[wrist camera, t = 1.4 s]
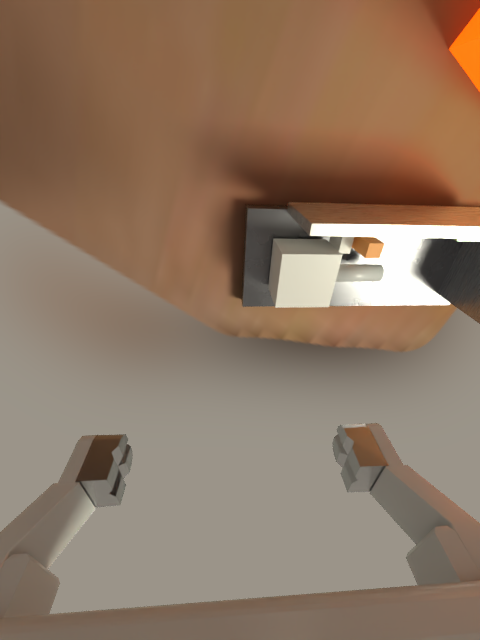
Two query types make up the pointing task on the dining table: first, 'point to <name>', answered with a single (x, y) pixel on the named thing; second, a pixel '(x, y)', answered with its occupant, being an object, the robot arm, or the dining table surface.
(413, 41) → the dining table surface
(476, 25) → the orange juice
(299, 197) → the dining table surface
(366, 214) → the bench
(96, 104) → the dining table surface
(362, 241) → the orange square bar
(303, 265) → the white block
